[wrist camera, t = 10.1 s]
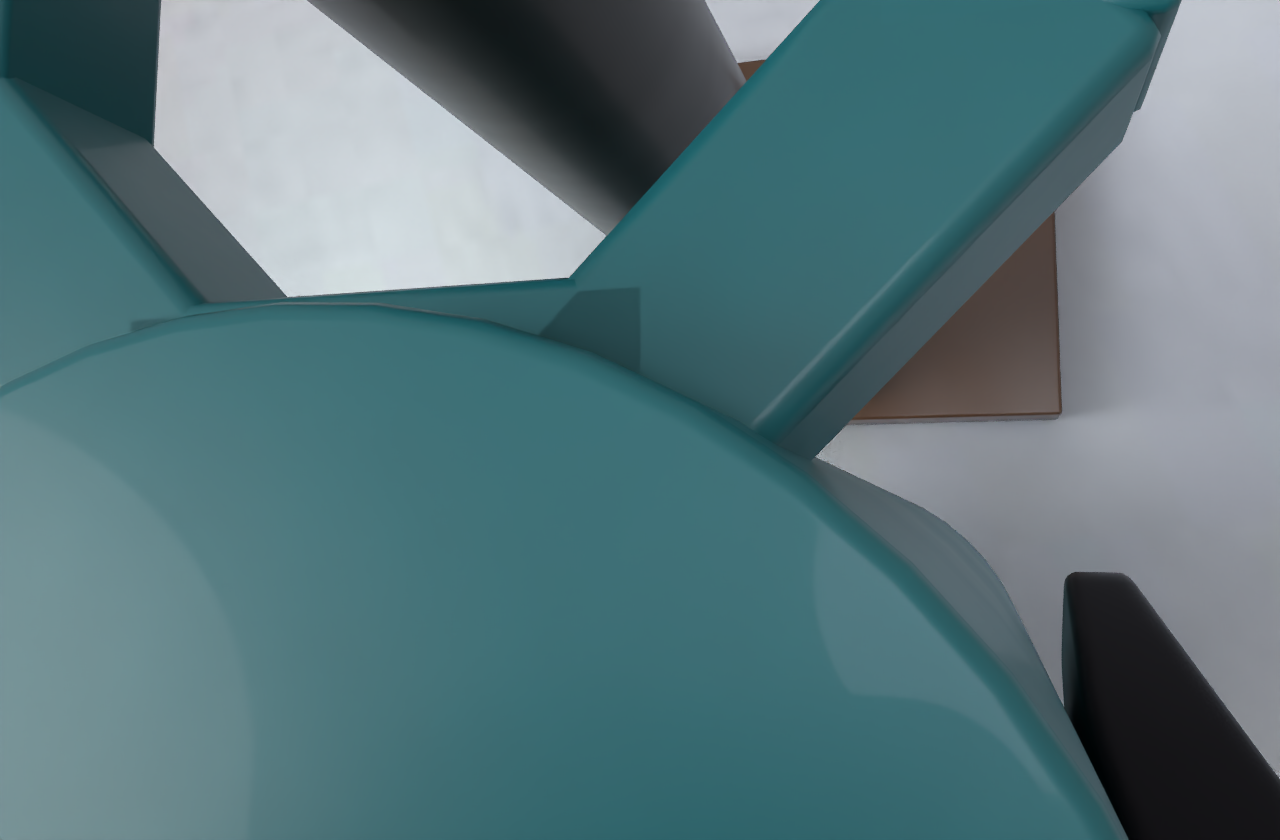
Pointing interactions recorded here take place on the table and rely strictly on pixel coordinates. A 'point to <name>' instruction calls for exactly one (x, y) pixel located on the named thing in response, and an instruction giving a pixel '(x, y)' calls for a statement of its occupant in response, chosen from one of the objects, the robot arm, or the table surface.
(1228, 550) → the table surface
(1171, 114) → the table surface
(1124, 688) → the robot arm
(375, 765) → the jug
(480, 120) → the peg stand
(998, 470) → the table surface
